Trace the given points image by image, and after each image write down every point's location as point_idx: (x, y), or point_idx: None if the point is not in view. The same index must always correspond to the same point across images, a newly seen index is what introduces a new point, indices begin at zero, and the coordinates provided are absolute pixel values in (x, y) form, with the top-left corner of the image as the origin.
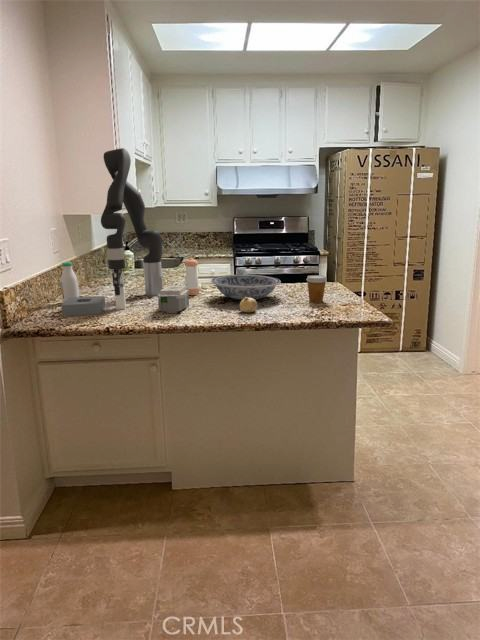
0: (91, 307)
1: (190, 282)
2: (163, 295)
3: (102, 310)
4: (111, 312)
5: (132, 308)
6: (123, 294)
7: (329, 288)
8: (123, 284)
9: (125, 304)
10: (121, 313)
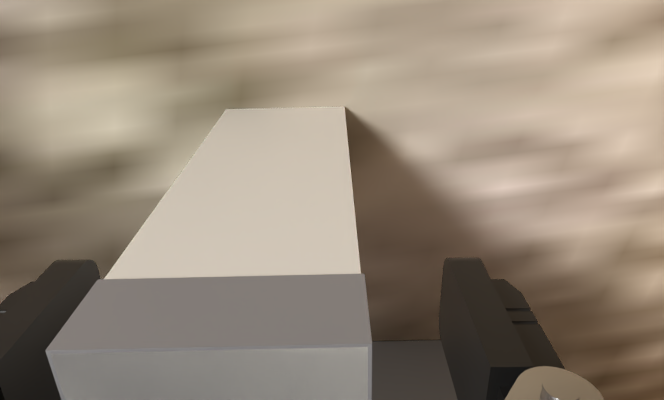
0: None
1: None
2: None
3: (381, 344)
4: (481, 245)
5: (316, 5)
6: (351, 196)
7: None
8: (301, 315)
9: (266, 121)
10: (579, 124)
